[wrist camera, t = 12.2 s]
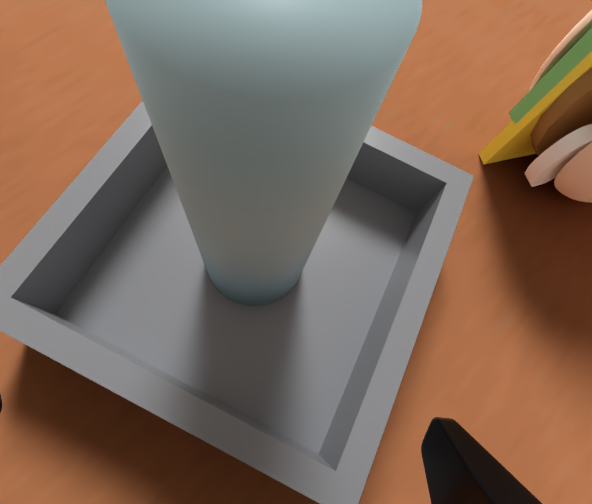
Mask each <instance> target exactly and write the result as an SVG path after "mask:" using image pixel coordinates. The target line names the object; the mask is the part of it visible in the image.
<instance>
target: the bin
mask: <svg viewBox="0 0 592 504" xmlns="http://www.w3.org/2000/svg"><path fill="white" fill-rule="evenodd" d="M473 177H474V176H473V175H471V174H469V173H467V172H465V171H463V170H461V169H459V168H457V167H455V166H453V165H451V164H448V163H446V162H444V161H442V160H440V159H438V158H436V157H434V156H432V155H430V154H428V153H426V152H424V151H422V150H420V149H418V148H416V147H414V146H412V145H410V144H407V143H405V142H403V141H401V140H399V139H397V138H395V137H393V136H391V135H389V134H387V133H385V132H383V131H381V130H379V129H377V128H375V127H373V126H371V127H370V129H369V131H368V133H367V136H366V138H365V140H364V142H363V144H362V146H361V148H360V150H359V152H358V155H357V157H356V159H355V161H354V163H353V165H352V167H351V169H350V171H349V173H348V176H347V178H346V180H345V182H344V184H343V186H342V188H341V190H340V192H339V195H338V197H337V199H336V201H335V203H334V205H333V207H332V209H331V211H330V214H329V216H328V218H327V220H326V222H325V224H324V226H323V228H322V230H321V232H320V235H319V237H318V239H317V241H316V243H315V245H314V247H313V249H312V251H311V254H310V256H309V258H308V260H307V262H306V264H305V266H304V268H303V270H302V273H301V275H300V277H299V279H298V281H297V283H296V284H295V286H294V287H293V288H292V289H291V290H290V292H288V293H287V294H286V295H285V296H284V297H282V298H280V299H279V300H277V301H275V302H272V303H269V304H265V305H258V306H251V305H244V304H240V303H237V302H234V301H232V300H230V299H228V298H227V297H225V296H224V295H223V294H222V293H221V292H219V291H218V289H217V288H216V287H215V286H214V284H213V283H212V281H211V279H210V277H209V275H208V272H207V269H206V267H205V264H204V261H203V259H202V256H201V253H200V251H199V248H198V246H197V243H196V240H195V238H194V235H193V232H192V230H191V227H190V224H189V222H188V219H187V216H186V214H185V211H184V208H183V206H182V203H181V201H180V198H179V195H178V193H177V190H176V187H175V185H174V182H173V179H172V177H171V174H170V171H169V169H168V166H167V163H166V161H165V158H164V155H163V153H162V150H161V148H160V145H159V142H158V140H157V137H156V134H155V132H154V129H153V126H152V124H151V121H150V118H149V116H148V113H147V110H146V108H145V105H144V102H143V101H142V102H141V103H140V104H139V105H138V106H137V108H136V109H135V110H134V111H133V112H132V113H131V115H130V116H129V117H128V118H127V119H126V120H125V121H124V123H123V124H122V125H121V126H120V127H119V128H118V130H117V131H116V132H115V133H114V134H113V135H112V137H111V138H110V139H109V140H108V141H107V142H106V144H105V145H104V146H103V147H102V148H101V149H100V150H99V152H98V153H97V154H96V155H95V156H94V157H93V159H92V160H91V161H90V162H89V163H88V164H87V166H86V167H85V168H84V169H83V170H82V171H81V173H80V174H79V175H78V176H77V177H76V178H75V179H74V181H73V182H72V183H71V184H70V185H69V186H68V188H67V189H66V190H65V191H64V192H63V193H62V195H61V196H60V197H59V198H58V199H57V200H56V201H55V203H54V204H53V205H52V206H51V207H50V208H49V210H48V211H47V212H46V213H45V214H44V215H43V217H42V218H41V219H40V220H39V221H38V222H37V224H36V225H35V226H34V227H33V228H32V229H31V230H30V232H29V233H28V234H27V235H26V236H25V237H24V239H23V240H22V241H21V242H20V243H19V244H18V246H17V247H16V248H15V249H14V250H13V251H12V253H11V254H10V255H9V256H8V257H7V258H6V259H5V261H4V262H3V263H2V264H1V265H0V331H1V332H3V333H5V334H7V335H9V336H11V337H12V338H14V339H16V340H18V341H20V342H22V343H24V344H25V345H27V346H29V347H31V348H33V349H35V350H37V351H38V352H40V353H42V354H44V355H46V356H48V357H49V358H51V359H53V360H55V361H57V362H59V363H61V364H62V365H64V366H66V367H68V368H70V369H72V370H74V371H75V372H77V373H79V374H81V375H83V376H85V377H86V378H88V379H90V380H92V381H94V382H96V383H98V384H99V385H101V386H103V387H105V388H107V389H109V390H111V391H112V392H114V393H116V394H118V395H120V396H122V397H123V398H125V399H127V400H129V401H131V402H133V403H135V404H136V405H138V406H140V407H142V408H144V409H146V410H147V411H149V412H151V413H153V414H155V415H157V416H159V417H160V418H162V419H164V420H166V421H168V422H170V423H172V424H173V425H175V426H177V427H179V428H181V429H183V430H184V431H186V432H188V433H190V434H192V435H194V436H196V437H197V438H199V439H201V440H203V441H205V442H207V443H209V444H210V445H212V446H214V447H216V448H218V449H220V450H221V451H223V452H225V453H227V454H229V455H231V456H233V457H234V458H236V459H238V460H240V461H242V462H244V463H246V464H247V465H249V466H251V467H253V468H255V469H257V470H258V471H260V472H262V473H264V474H266V475H268V476H270V477H271V478H273V479H275V480H277V481H279V482H281V483H283V484H284V485H286V486H288V487H290V488H292V489H294V490H295V491H297V492H299V493H301V494H303V495H305V496H307V497H308V498H310V499H312V500H314V501H316V502H318V503H319V504H358V503H359V500H360V497H361V494H362V492H363V489H364V486H365V483H366V480H367V477H368V475H369V472H370V469H371V466H372V463H373V460H374V458H375V455H376V452H377V449H378V446H379V443H380V441H381V438H382V435H383V432H384V429H385V426H386V424H387V421H388V418H389V415H390V412H391V409H392V407H393V404H394V401H395V398H396V395H397V393H398V390H399V387H400V384H401V381H402V378H403V376H404V373H405V370H406V367H407V364H408V361H409V359H410V356H411V353H412V350H413V347H414V344H415V342H416V339H417V336H418V333H419V330H420V327H421V325H422V322H423V319H424V316H425V313H426V310H427V308H428V305H429V302H430V299H431V296H432V293H433V291H434V288H435V285H436V282H437V279H438V276H439V274H440V271H441V268H442V265H443V262H444V259H445V257H446V254H447V251H448V248H449V245H450V242H451V240H452V237H453V234H454V231H455V228H456V225H457V223H458V220H459V217H460V214H461V211H462V208H463V206H464V203H465V200H466V197H467V194H468V191H469V189H470V186H471V183H472V180H473Z"/></svg>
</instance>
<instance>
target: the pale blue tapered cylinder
mask: <svg viewBox="0 0 592 504" xmlns="http://www.w3.org/2000/svg"><path fill="white" fill-rule="evenodd" d="M105 2H106V4H107V7H108V10H109V12H110V15H111V18H112V20H113V23H114V26H115V28H116V31H117V34H118V36H119V39H120V42H121V44H122V47H123V50H124V52H125V55H126V57H127V60H128V63H129V65H130V68H131V71H132V73H133V76H134V79H135V81H136V84H137V87H138V89H139V92H140V95H141V97H142V100H143V102H144V105H145V108H146V110H147V113H148V116H149V118H150V121H151V124H152V126H153V129H154V132H155V134H156V137H157V140H158V142H159V145H160V148H161V150H162V153H163V155H164V158H165V161H166V163H167V166H168V169H169V171H170V174H171V177H172V179H173V182H174V185H175V187H176V190H177V193H178V195H179V198H180V201H181V203H182V206H183V208H184V211H185V214H186V216H187V219H188V222H189V224H190V227H191V230H192V232H193V235H194V238H195V240H196V243H197V246H198V248H199V251H200V253H201V256H202V259H203V261H204V264H205V267H206V269H207V272H208V275H209V277H210V279H211V281H212V283H213V284H214V286H215V287H216V288H217V289H218V291H219V292H221V293H222V294H223V295H224V296H225V297H227V298H228V299H230V300H232V301H234V302H237V303H240V304H244V305H251V306H258V305H265V304H269V303H272V302H275V301H277V300H279V299H280V298H282V297H284V296H285V295H286V294H287V293H288V292H290V290H291V289H292V288H293V287H294V286H295V284H296V283H297V281H298V279H299V277H300V275H301V273H302V270H303V268H304V266H305V264H306V262H307V260H308V258H309V256H310V254H311V251H312V249H313V247H314V245H315V243H316V241H317V239H318V237H319V235H320V232H321V230H322V228H323V226H324V224H325V222H326V220H327V218H328V216H329V214H330V211H331V209H332V207H333V205H334V203H335V201H336V199H337V197H338V195H339V192H340V190H341V188H342V186H343V184H344V182H345V180H346V178H347V176H348V173H349V171H350V169H351V167H352V165H353V163H354V161H355V159H356V157H357V155H358V152H359V150H360V148H361V146H362V144H363V142H364V140H365V138H366V136H367V133H368V131H369V129H370V127H371V125H372V123H373V121H374V119H375V117H376V114H377V112H378V110H379V108H380V106H381V104H382V102H383V100H384V98H385V96H386V93H387V91H388V89H389V87H390V85H391V83H392V81H393V79H394V77H395V74H396V72H397V70H398V68H399V66H400V64H401V62H402V60H403V58H404V55H405V53H406V51H407V49H408V47H409V45H410V43H411V41H412V39H413V37H414V34H415V32H416V30H417V28H418V24H419V21H420V17H421V12H422V0H105Z"/></svg>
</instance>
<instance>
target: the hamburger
mask: <svg viewBox="0 0 592 504" xmlns="http://www.w3.org/2000/svg"><path fill="white" fill-rule="evenodd" d="M509 115H510V116H511V118H512V121H511V122H510V123H509V124H508V125H507V126H506V127H505V128H504V129H503V130H502V131H501V132H500V133H499V134H498V135H497V136H496V137H495V138H494V139H493V140H492V141H491V142H490V143H489V144H488V145H487V146H486V147H485V148H484V149H483V150H482V151H481V152H480V153H479V156H480V158H481V160H482V162H483V164H489V163H494V162H498V161H503V160H508V159H513V158H517V157H522V156H527V155H532V154H536V153H537V155H538V157H537V158H536V159H535V160H534V161H533V162H532V163H531V164H530V165H529V167H528V168H527V169H526V171H525V176H526V178H527V179H528V181H529V183H530V185H531V186H532V187H534V186H538V185H541V184H544V183H546V182H548V181H551V180H552V179H554V178H555V180H554V185H555V187H556V189H557V190H558V191H559V192H561V193H562V194H564V195H565V196H567V197H569V198H571V199H574V200H578V201H583V202H591V203H592V10H591V11H590V12H589V13H588V14H587V15H586V16H585V17H584V18H583V19H582V20H581V21H580V22H579V23H578V24H577V25H576V26H575V27H574V28H573V29H572V30H571V31H570V32H569V33H568V34H567V35H566V37H565V38H564V39H563V40H562V41H561V42H560V43H559V44H558V45H557V47H556V48H555V49H554V50H553V52H552V53H551V54H550V56H549V57H548V58H547V60H546V61H545V62H544V64H543V65H542V66H541V68H540V70H539V71H538V73H537V75H536V77H535V78H534V80H533V82H532V83H531V86H530V89H529V91H528V93H527V95H526V96H525V97H524V98H523V99H522V100H521V101H520V102H519V103H518V104H517V105H516V106H515V107H514V108H513V109H512V110H511V111H510V112H509Z"/></svg>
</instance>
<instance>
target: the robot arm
mask: <svg viewBox="0 0 592 504" xmlns="http://www.w3.org/2000/svg"><path fill="white" fill-rule="evenodd" d="M1 409H2V400H1V395H0V412H1ZM421 451H422V458H423V463H424V468H425V473H426V478H427V483H428V488H429V494H430V499H431V504H542V503H541V502H540V501H539V500H538V499H537V498H536V497H535V496H534V495H533V494H532V493H531V492H530V491H528V490H527V489H526V488H525V487H524V486H523V485H522V484H521V483H520V482H519V481H518V480H517V479H516V478H515V477H514V476H513V475H512V474H511V473H510V472H509V471H508V470H506V469H505V468H504V467H503V466H502V465H501V464H500V463H499V462H498V461H497V460H496V459H495V458H494V457H493V456H492V455H491V454H490V453H489V452H488V451H487V450H486V449H484V448H483V447H482V446H481V445H480V444H479V443H478V442H477V441H476V440H475V439H474V438H473V437H472V436H471V435H470V434H469V433H468V432H467V431H466V430H465V429H464V428H462V427H461V426H460V425H459V424H458V423H457V422H456V421H455V420H453V419H450V418H441V417H435V418H433V419H432V421H431V423H430V425H429V427H428V430H427V432H426V434H425V437H424V439H423V442H422V447H421Z"/></svg>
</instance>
